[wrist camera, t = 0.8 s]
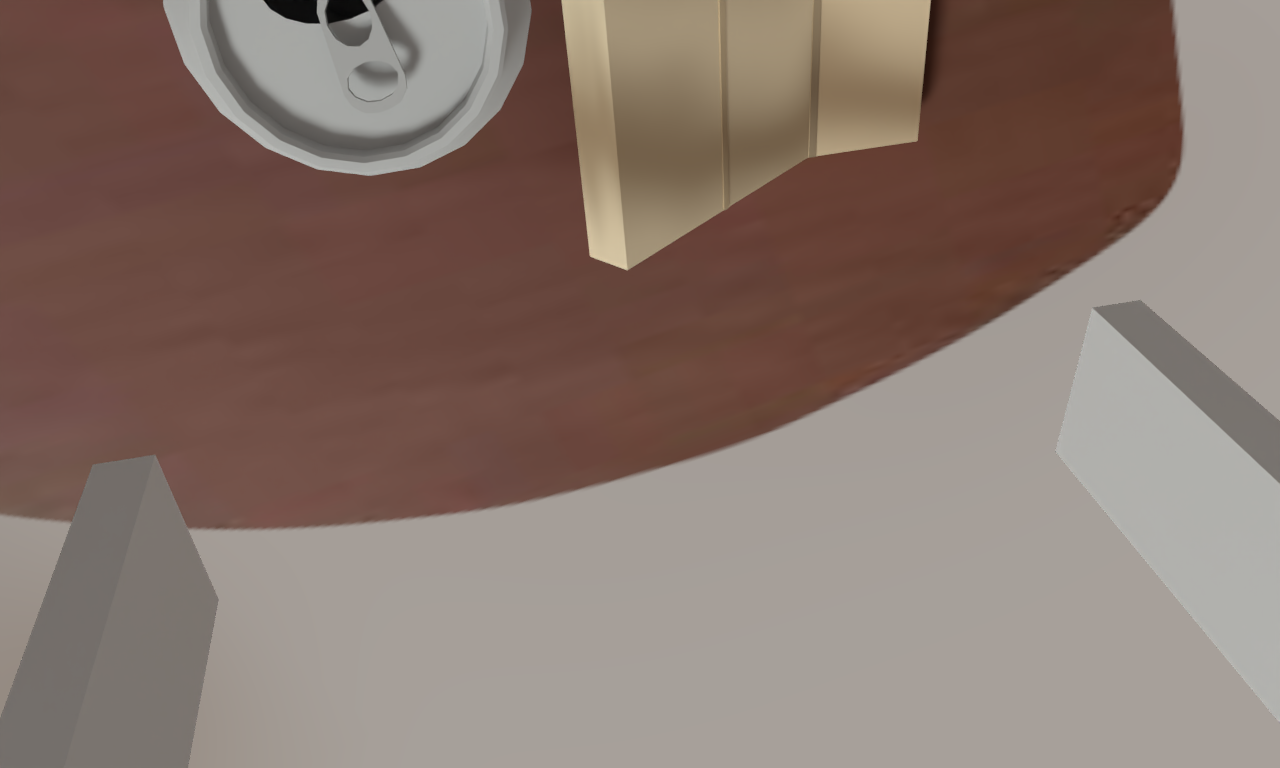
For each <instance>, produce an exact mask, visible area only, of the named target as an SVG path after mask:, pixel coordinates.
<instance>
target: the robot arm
mask: <svg viewBox="0 0 1280 768" xmlns="http://www.w3.org/2000/svg"><path fill="white" fill-rule="evenodd" d="M1055 452H1056V453H1057V454H1058V456H1059V457H1060V458H1061V459H1062V461H1063V462H1064V463H1065V464H1066V465H1067V466H1068V468H1069V469H1070V470H1071V471H1072V473H1074V475H1075V476H1076V477H1077V479H1078V480H1079V481H1080V482H1081V483H1082V485H1083V486H1084V487H1085V488H1086V490H1088V492H1089V493H1090V494H1091V496H1092V497H1093V498H1094V499H1095V500H1096V502H1097V503H1098V504H1099V505H1100V506H1101V508H1102V509H1103V510H1104V511H1105V513H1106V514H1107V515H1108V516H1109V517H1110V518H1111V520H1112V521H1113V522H1114V523H1115V524H1116V526H1117V527H1118V528H1119V529H1120V531H1121V532H1122V533H1123V534H1124V535H1125V537H1126V538H1127V539H1128V540H1129V542H1130V543H1131V544H1132V545H1133V546H1134V547H1135V549H1136V550H1137V551H1138V552H1139V554H1140V555H1141V556H1142V557H1143V558H1144V560H1145V561H1146V562H1147V563H1148V565H1149V566H1150V567H1151V568H1152V569H1153V571H1154V572H1155V573H1156V574H1157V575H1158V576H1159V578H1160V579H1161V580H1162V581H1163V583H1164V584H1165V585H1166V586H1167V587H1168V589H1169V590H1170V591H1171V592H1172V594H1173V595H1174V596H1175V597H1176V598H1177V600H1178V601H1179V602H1180V603H1181V604H1182V606H1183V607H1184V608H1185V609H1186V610H1187V612H1188V613H1189V614H1190V615H1191V616H1192V618H1193V619H1194V620H1195V621H1196V623H1197V624H1198V625H1199V626H1200V627H1201V629H1202V630H1203V631H1204V632H1205V633H1206V635H1207V636H1208V637H1209V638H1210V639H1211V641H1212V642H1213V643H1214V644H1215V646H1216V647H1217V648H1218V649H1219V650H1220V651H1221V653H1222V654H1223V655H1224V656H1225V658H1226V659H1227V660H1228V661H1229V662H1230V664H1231V665H1232V666H1233V667H1234V668H1235V670H1236V671H1237V672H1238V673H1239V674H1240V676H1241V677H1242V678H1243V679H1244V681H1245V682H1246V683H1247V684H1248V685H1249V687H1250V688H1251V689H1252V690H1253V691H1254V693H1255V694H1256V695H1257V696H1258V697H1259V699H1260V700H1261V701H1262V702H1263V704H1264V705H1265V706H1266V707H1267V708H1268V710H1269V711H1270V712H1271V713H1272V714H1273V716H1274V717H1275V718H1276V719H1277V720H1278V722H1279V723H1280V421H1279V420H1278V419H1277V418H1275V417H1274V416H1273V415H1272V414H1271V413H1270V412H1268V411H1267V410H1266V409H1265V408H1264V407H1263V406H1262V405H1261V404H1259V403H1258V402H1257V401H1256V400H1255V399H1254V398H1252V397H1251V396H1250V395H1249V394H1248V393H1247V392H1245V391H1244V390H1243V389H1242V388H1241V387H1240V386H1238V384H1236V383H1235V382H1234V381H1233V380H1232V379H1231V378H1229V377H1228V376H1227V375H1226V374H1225V373H1224V372H1223V371H1221V370H1220V369H1219V368H1218V367H1217V366H1216V365H1214V364H1213V363H1212V362H1211V361H1210V360H1209V359H1208V358H1206V357H1205V356H1204V355H1203V354H1202V353H1201V352H1199V351H1198V350H1197V349H1196V348H1195V347H1194V346H1193V345H1191V344H1190V343H1189V342H1188V341H1187V340H1186V339H1185V338H1183V337H1182V336H1181V335H1180V334H1179V333H1178V332H1177V331H1175V330H1174V329H1173V328H1172V327H1171V326H1170V325H1168V324H1167V323H1166V322H1165V321H1164V320H1163V319H1162V318H1160V317H1159V316H1158V315H1157V314H1156V313H1155V312H1153V311H1152V310H1151V309H1150V308H1149V307H1148V306H1146V305H1145V304H1144V303H1143V302H1142V301H1140V300H1139V301H1132V302H1126V303H1119V304H1113V305H1107V306H1101V307H1094V308H1092V311H1091V315H1090V319H1089V323H1088V327H1087V331H1086V335H1085V339H1084V342H1083V346H1082V350H1081V354H1080V358H1079V362H1078V366H1077V370H1076V374H1075V377H1074V381H1073V385H1072V389H1071V393H1070V397H1069V401H1068V405H1067V409H1066V412H1065V416H1064V420H1063V424H1062V428H1061V432H1060V436H1059V440H1058V444H1057V447H1056V451H1055ZM217 605H218V597H217V595H216V593H215V590H214V588H213V586H212V583H211V581H210V579H209V577H208V574H207V572H206V570H205V567H204V565H203V563H202V560H201V558H200V556H199V554H198V551H197V549H196V547H195V545H194V542H193V540H192V538H191V536H190V533H189V531H188V529H187V526H186V524H185V522H184V519H183V517H182V515H181V513H180V510H179V508H178V506H177V504H176V501H175V499H174V497H173V494H172V492H171V490H170V488H169V485H168V483H167V481H166V478H165V476H164V474H163V472H162V469H161V467H160V465H159V462H158V460H157V458H156V456H155V455H151V456H145V457H139V458H132V459H126V460H120V461H113V462H107V463H100V464H94V465H93V466H92V469H91V471H90V474H89V477H88V480H87V482H86V485H85V488H84V490H83V493H82V496H81V499H80V501H79V504H78V507H77V510H76V512H75V515H74V518H73V521H72V523H71V526H70V529H69V532H68V534H67V537H66V540H65V543H64V545H63V548H62V551H61V553H60V556H59V559H58V562H57V565H56V567H55V570H54V573H53V575H52V578H51V581H50V583H49V586H48V589H47V592H46V595H45V597H44V600H43V603H42V606H41V608H40V611H39V614H38V617H37V619H36V622H35V625H34V627H33V630H32V633H31V635H30V638H29V641H28V644H27V646H26V649H25V652H24V655H23V657H22V660H21V663H20V666H19V669H18V671H17V674H16V677H15V679H14V682H13V685H12V688H11V690H10V693H9V696H8V699H7V701H6V704H5V707H4V710H3V712H2V715H1V718H0V768H188V764H189V759H190V753H191V747H192V742H193V736H194V731H195V725H196V720H197V715H198V709H199V704H200V698H201V692H202V687H203V682H204V676H205V670H206V665H207V659H208V654H209V648H210V643H211V637H212V632H213V627H214V621H215V615H216V610H217Z"/></svg>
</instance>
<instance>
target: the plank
mask: <svg viewBox="0 0 1280 768" xmlns="http://www.w3.org/2000/svg"><path fill="white" fill-rule="evenodd" d="M562 9H563V18H564V27H565V36H566V45H567V54H568V63H569V72H570V81H571V90H572V99H573V108H574V117H575V125H576V134H577V143H578V152H579V161H580V170H581V179H582V188H583V197H584V206H585V215H586V224H587V233H588V242H589V251H590V257H593V258H596V259H598V260H601V261H604V262H606V263H609V264H612V265H614V266H617V267H620V268H623V269H625V270H629V269H630V268H632V267H634V266H635V265H637V264H638V263H640V262H642V261H643V260H645V259H646V258H648V257H650V256H651V255H653V254H654V253H656V252H657V251H659V250H661V249H662V248H664V247H665V246H667V245H669V244H670V243H672V242H673V241H675V240H677V239H678V238H680V237H681V236H683V235H685V234H686V233H688V232H689V231H691V230H693V229H694V228H696V227H697V226H699V225H701V224H702V223H704V222H705V221H707V220H709V219H710V218H712V217H713V216H715V215H717V214H718V213H720V212H721V211H723V210H724V211H725V210H726V209H728V208H729V206H731V205H733V204H734V203H736V202H737V201H739V200H741V199H742V198H744V197H745V196H747V195H749V194H750V193H752V192H753V191H755V190H757V189H758V188H760V187H761V186H763V185H765V184H766V183H768V182H769V181H771V180H773V179H774V178H776V177H777V176H779V175H781V174H782V173H784V172H785V171H787V170H789V169H790V168H792V167H793V166H795V165H797V164H798V163H800V162H801V161H803V160H805V159H806V158H808V147H809V113H810V79H811V44H812V10H813V0H562Z"/></svg>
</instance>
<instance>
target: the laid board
mask: <svg viewBox="0 0 1280 768" xmlns="http://www.w3.org/2000/svg"><path fill="white" fill-rule="evenodd" d="M930 3H931V0H813V10H812V44H811V79H810V113H809V147H808V157H809V158H810V157H816V156H820V155H827V154H833V153H840V152H847V151H854V150H860V149H867V148H874V147H881V146H887V145H894V144H901V143H908V142H914V141H917V140H918V129H919V119H920V108H921V98H922V87H923V77H924V66H925V56H926V45H927V35H928V24H929V14H930Z"/></svg>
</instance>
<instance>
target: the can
mask: <svg viewBox="0 0 1280 768" xmlns="http://www.w3.org/2000/svg"><path fill="white" fill-rule="evenodd" d="M163 3H164V9H165V12H166V15H167V17H168V20H169V23H170V26H171V28H172V31H173V34H174V37H175V39H176V42H177V45H178V48H179V50H180V53H181V56H182V59H183V62H184V64H185V65H186V67H187V68H188V69H189V71H190V72H191V73H192V75H193V76H194V78H195V79H196V80H197V82H198V83H199V84H200V86H201V87H202V88H203V90H204V91H205V92H206V94H207V95H208V97H209V98H210V99H211V101H212V102H213V103H214V105H215V106H216V107H217V109H218V110H219V112H221V113H222V114H223V115H224V116H226V117H227V118H228V119H230V120H231V121H232V122H233V123H235V124H236V125H237V126H238V127H240V128H241V129H242V130H244V131H245V132H246V133H247V134H249V135H250V136H251V137H252V138H254V139H255V140H256V141H258V142H259V143H260V144H261V145H263V146H264V147H265V148H267V149H270V150H272V151H275V152H277V153H279V154H282V155H284V156H287V157H289V158H291V159H294V160H296V161H299V162H301V163H303V164H306V165H308V166H310V167H313V168H315V169H319V170H327V171H336V172H344V173H352V174H360V175H368V176H371V175H377V174H383V173H389V172H395V171H401V170H407V169H413V168H419V167H422V166H424V165H426V164H428V163H430V162H432V161H434V160H436V159H438V158H440V157H442V156H444V155H446V154H448V153H450V152H452V151H454V150H456V149H458V148H460V147H462V146H463V145H465V144H466V143H467V142H468V141H469V140H470V139H471V138H472V137H473V136H474V135H475V134H476V133H477V132H478V131H479V130H480V129H481V128H482V127H483V126H484V125H485V124H486V123H487V122H488V121H489V120H490V119H491V118H492V117H493V116H494V115H495V114H496V113H497V112H498V111H499V110H500V109H501V107H502V105H503V103H504V101H505V99H506V97H507V95H508V93H509V91H510V89H511V87H512V85H513V83H514V81H515V79H516V77H517V75H518V73H519V71H520V69H521V68H522V66H523V63H524V56H525V50H526V43H527V37H528V30H529V24H530V17H531V11H532V10H531V4H530V0H163Z"/></svg>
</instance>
